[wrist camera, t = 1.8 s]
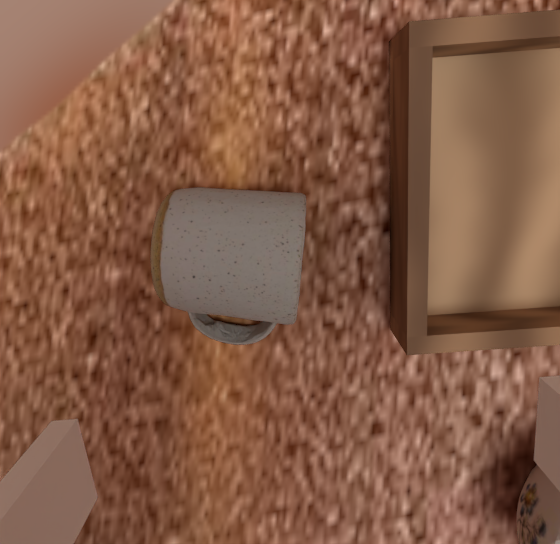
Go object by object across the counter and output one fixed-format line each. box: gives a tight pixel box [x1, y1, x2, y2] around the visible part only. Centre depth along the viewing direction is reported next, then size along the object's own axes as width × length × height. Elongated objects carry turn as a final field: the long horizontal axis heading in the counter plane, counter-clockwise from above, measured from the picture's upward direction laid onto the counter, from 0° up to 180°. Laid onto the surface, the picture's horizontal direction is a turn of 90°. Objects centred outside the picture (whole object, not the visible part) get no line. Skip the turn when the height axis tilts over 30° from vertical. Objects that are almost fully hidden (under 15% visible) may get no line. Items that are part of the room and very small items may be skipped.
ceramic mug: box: [150, 187, 306, 345], centre depth 25 cm, size 11×8×8 cm
